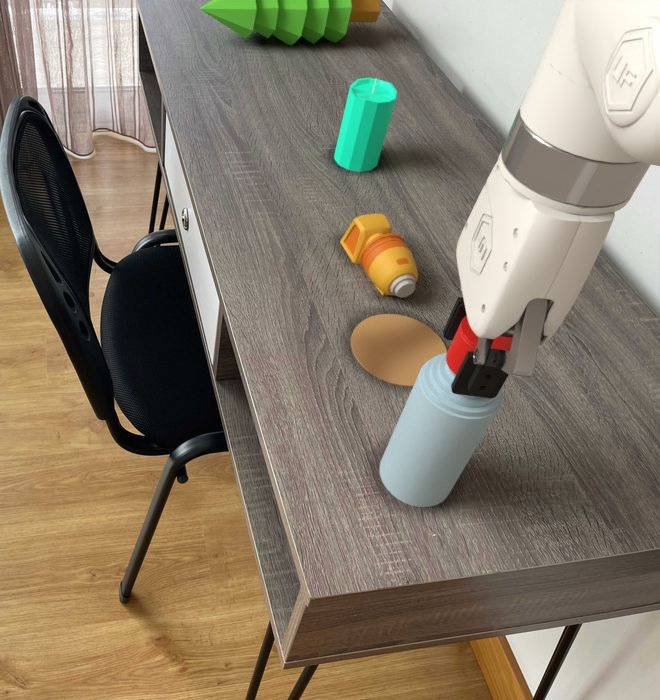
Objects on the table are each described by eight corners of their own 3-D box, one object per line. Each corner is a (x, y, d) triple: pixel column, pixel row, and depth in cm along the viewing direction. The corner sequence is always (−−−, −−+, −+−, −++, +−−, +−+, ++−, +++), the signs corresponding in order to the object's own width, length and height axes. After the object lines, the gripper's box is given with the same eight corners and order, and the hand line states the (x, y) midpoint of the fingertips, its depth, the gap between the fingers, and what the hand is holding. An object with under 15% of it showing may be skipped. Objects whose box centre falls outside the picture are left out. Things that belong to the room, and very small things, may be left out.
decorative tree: (393, -33, 115) (208, -34, 107) (385, 46, 120) (208, 51, 112) (359, -31, 124) (188, -31, 117) (353, 43, 129) (189, 46, 122)
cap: (443, 340, 56) (458, 307, 53) (494, 347, 56) (512, 314, 53) (448, 379, 53) (464, 347, 51) (502, 387, 53) (521, 354, 50)
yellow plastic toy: (421, 306, 81) (376, 236, 89) (436, 269, 77) (388, 199, 85) (377, 313, 80) (335, 242, 88) (390, 275, 76) (345, 204, 83)
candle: (357, 145, 102) (378, 62, 93) (386, 167, 99) (411, 83, 90) (324, 156, 100) (342, 72, 91) (352, 179, 97) (374, 94, 88)
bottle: (460, 471, 67) (543, 330, 53) (434, 522, 63) (516, 384, 49) (395, 437, 69) (459, 293, 55) (366, 484, 65) (427, 342, 52)
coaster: (460, 345, 77) (462, 341, 77) (424, 405, 72) (426, 401, 71) (374, 304, 81) (375, 300, 80) (333, 358, 75) (334, 354, 75)
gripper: (485, 75, 48) (408, 283, 61) (535, 240, 36) (427, 451, 50) (602, 89, 47) (499, 294, 61) (690, 259, 36) (539, 466, 49)
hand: (468, 363), depth 55 cm, fingers open, 4 cm apart
